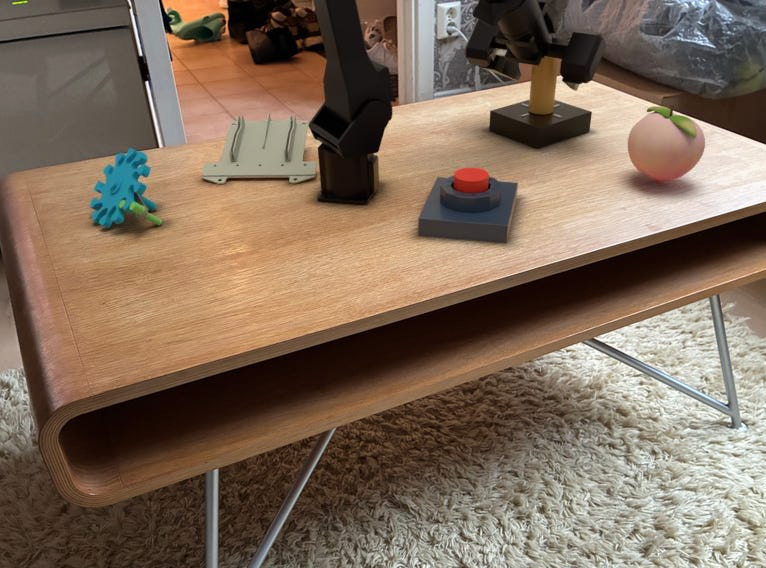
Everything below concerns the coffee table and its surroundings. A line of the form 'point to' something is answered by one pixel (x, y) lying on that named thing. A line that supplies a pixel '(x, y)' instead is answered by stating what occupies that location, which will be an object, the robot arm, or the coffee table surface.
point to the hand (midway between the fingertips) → (547, 82)
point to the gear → (123, 191)
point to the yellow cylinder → (543, 86)
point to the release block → (469, 212)
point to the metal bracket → (263, 151)
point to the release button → (471, 180)
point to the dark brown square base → (540, 123)
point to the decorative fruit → (665, 144)
